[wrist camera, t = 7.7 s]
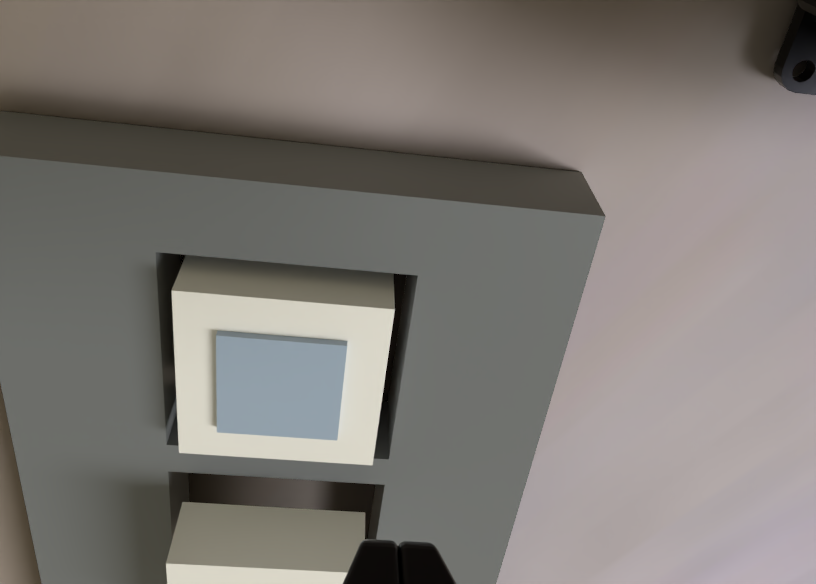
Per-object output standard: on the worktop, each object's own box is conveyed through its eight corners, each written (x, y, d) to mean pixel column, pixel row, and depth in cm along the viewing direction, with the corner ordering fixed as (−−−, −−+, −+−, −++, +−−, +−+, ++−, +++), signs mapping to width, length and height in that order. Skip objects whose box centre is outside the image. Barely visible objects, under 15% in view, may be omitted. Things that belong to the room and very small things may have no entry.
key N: (393, 264, 19) (395, 314, 17) (372, 413, 22) (372, 471, 20) (189, 246, 19) (169, 295, 17) (194, 401, 21) (177, 458, 20)
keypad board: (581, 172, 19) (605, 216, 17) (439, 697, 32) (443, 758, 30) (0, 111, 18) (-47, 151, 16) (94, 686, 31) (75, 748, 29)
